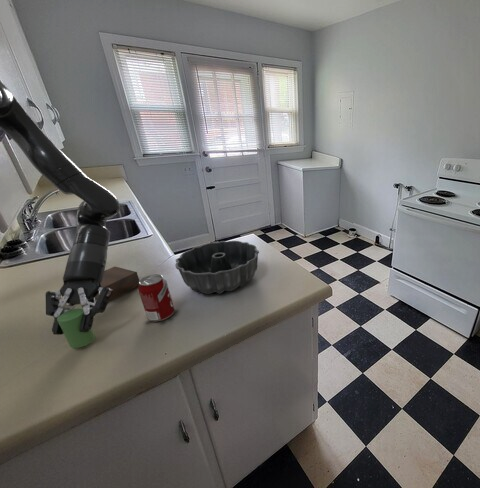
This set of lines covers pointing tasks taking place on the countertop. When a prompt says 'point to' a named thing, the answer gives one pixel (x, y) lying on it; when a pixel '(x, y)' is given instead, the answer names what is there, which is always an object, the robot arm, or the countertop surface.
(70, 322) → the green cylinder
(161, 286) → the soda can
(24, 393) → the countertop surface
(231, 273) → the bundt pan
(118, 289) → the walnut block
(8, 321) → the countertop surface
